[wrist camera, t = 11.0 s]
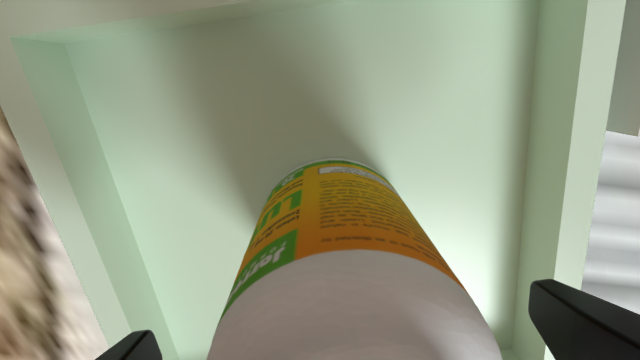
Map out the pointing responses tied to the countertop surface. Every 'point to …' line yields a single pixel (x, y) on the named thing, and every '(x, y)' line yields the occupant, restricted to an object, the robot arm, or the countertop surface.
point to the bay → (627, 76)
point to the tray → (308, 138)
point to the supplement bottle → (346, 278)
